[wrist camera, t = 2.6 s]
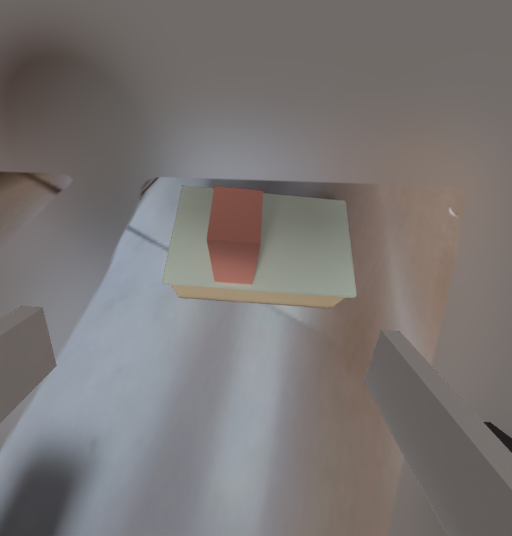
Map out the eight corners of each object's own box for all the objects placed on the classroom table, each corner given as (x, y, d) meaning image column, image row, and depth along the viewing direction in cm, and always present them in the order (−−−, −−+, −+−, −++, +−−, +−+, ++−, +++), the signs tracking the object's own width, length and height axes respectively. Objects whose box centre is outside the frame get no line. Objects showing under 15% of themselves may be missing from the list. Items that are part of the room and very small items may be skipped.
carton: (179, 297, 33) (168, 281, 27) (193, 219, 38) (186, 193, 32) (330, 308, 34) (349, 294, 29) (324, 231, 39) (340, 207, 33)
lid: (163, 283, 27) (130, 237, 18) (183, 189, 32) (164, 117, 23) (353, 297, 28) (408, 260, 19) (343, 204, 33) (383, 141, 25)
